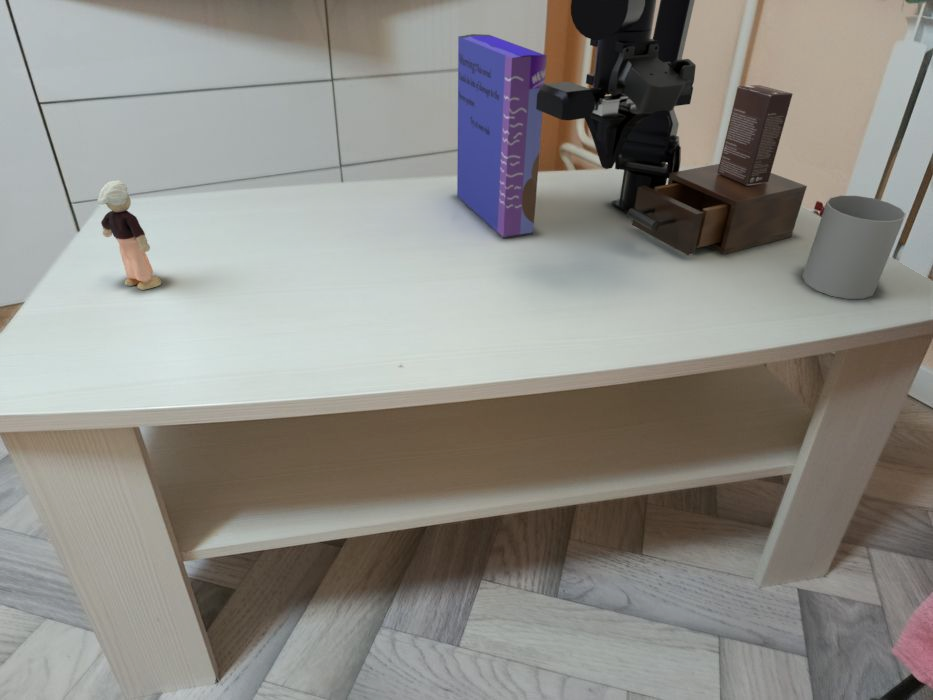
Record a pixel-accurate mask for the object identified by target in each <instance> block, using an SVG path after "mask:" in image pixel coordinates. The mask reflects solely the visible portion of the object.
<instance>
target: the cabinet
mask: <svg viewBox="0 0 933 700" xmlns="http://www.w3.org/2000/svg"><path fill="white" fill-rule="evenodd" d="M719 164H720V163H716V164H711V165H706V166H700V167H695V168H689V169H685V170H684V169H683V170H679V171H678V172H673V173H670V175H669V178H668V179H667V185H668V184H673V183H678V182H679V183H681V184H684V185H686V186H688V187H691V188H693V189H695V190H698V191H700V192H702V193H704V194H707V195H709V196H711V197H714V198H716V199H718V200H721V201H723V202H725V203H727V204H730V205H731V208H730V212H729V216H728V220H727V224H726V228H725V232H724V236H723V240H722V242H719V243H715V244H711V245H707V246H706V247H708V248H710V249H712V250H714V251H715V252H718V253H720V254H722V255H726V254H730V253H734V252H738V251H742V250H746V249H749V248H753V247H758V246H761V245H765V244H770V243H773V242H777V241H780V240H784V239H788V238H791V237H792V236H793V234H794V229H795V226H796V223H797V220H798V216H799V213H800V210H801V206H802V203H803V200H804V198H805V194H806V191H807V189H808V188H807V187H808V186H807V185H805V184H802V183H800V182H797V181H794V180H791V179H789V178H786V177H783V176H781V175H778V174H775V173H773V172H771V174H770V177H769V181H768V182H766V183H762V184H758V185H752V186H746V185H744V184H742V183H740V182H738V181H735V180H733V179H731V178H728V177H726V176H723V175H721V174H718V173H717V172H718V168H719Z"/></svg>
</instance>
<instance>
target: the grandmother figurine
mask: <svg viewBox="0 0 933 700" xmlns="http://www.w3.org/2000/svg"><path fill="white" fill-rule="evenodd" d="M128 191H129V189H128V187H127V185H126V183H125V182H122V181H121V180H119V179H118V180H111V181H108V182H107V183H105V184H104V185H103V186H102V188H101V190H100V191H99V195H98V198H97V203H98V204H99V205H106V207H107V208H108V209H109V210H110V211H108V212H107V213H106V214H105V215H104V216H103V218H102V220H101V222H100V224H101V226H102V235H103V236H104V237H106V238H111V237H112V236H113V237H114V238H115V240H116V241H117V243H118V249H119V250H118V251H119V253H120V257H121V260H122V264H123V266H124V271H125V274H126V277H127V278H126V279H125V281H124V285H125V286H129V287H132V286H136V287H137V289H138V290H140V291H144V290H151V289H152V288H156V287H159V286H161V285H162V280H161V278H159V277H158V276H154V275H153V273H154V270H153V267H152V265H151V262H150V259H149V257H148V255H147V252H149V251H150V250H151V246H150V244H149V243H148V240H147V239H148V238H147V237H146V233H145V231H144V229H143V227H142V226H141V225H140V222H139V220H138V218H137V216H135V215H134V214H133V213H131V212H130V211H128V210H129V208H130V207H131V204H132V200H131V197H130V195H129V192H128ZM152 275H153V276H152Z"/></svg>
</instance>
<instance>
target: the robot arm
mask: <svg viewBox="0 0 933 700" xmlns="http://www.w3.org/2000/svg"><path fill="white" fill-rule="evenodd" d="M695 1H696V0H660V1H659V5H658V11H657V15H656V20H655V12H656V6H657V0H571V2H570V17H571V20H572V23H573V25H574V27H575V29H576V30H577V31H578V32H579V33H580V35H582V36H583V37H585V38H586V39H589V40H590V43H589V46H591V47H595V48H596V50H595V51H596V52H595V61H594V68H593V69H594V70H593V73H587V74H586V77H585V78H586V79H585V84H587V85H589V86H592V87H591V88H589V87H586V86H582V85H580V84H577V83H574V82H571V81H561V82H550V83H545V84H543V86H542V87H541V89H540V90H539V91H538V94H537V104H536V109H537V110H539V111H542V113H544V114H546V115H549V116H552V117H554V118H556V119H559V120H561V121H574V120H582V119H584V121H585V123H586V125H587V127H588V130H589V133H590V134H591V137H592V140H593V143H594V147H595V150H596V152H597V156H598V159H599V162H600V165H601V167H602V168H603V169H605V170H609V169H612V168H613V167H614V170H618V171H619V170H622V171H623V175H622V183H621V189H620V196H619V199H617V200H612V201H611V205H612V206H613V207H614V208H617V209H619V210H620V211H623V212H624V213H626V214H627V213H628V211H629V209H631V208H634V209H635V203H636V197H637V191H638V187H639V186H644V185H645V186H647V187H649V188H651V189H653V190H655V187H657V186H662V185H667V182H668V179H669V175H670V173H673V172H678V171H680V168H681V161H682V147H681V145H680V136H678V131H679V125H680V124H679V121H678V117H677V115H676V112H675V109H674V108H675V107H680V106H687V105H691V101H692V96H693V91H694V86H693V85H694V83H695V76H696V64H695V63H694V62H693V61H692V60H691V59H689V58H683V55H684V50H685V45H686V42H687V36H688V32H689V28H690V23H691V19H692V14H693V10H694V6H695ZM654 20H655V26H654V30H653V25H654ZM652 31H654V32H653V36H652ZM651 37H652V38H651Z"/></svg>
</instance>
